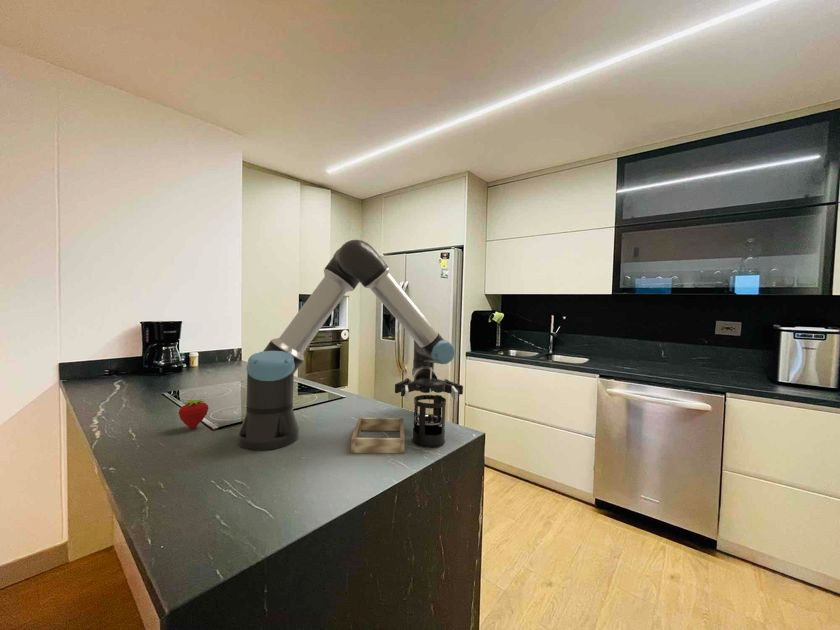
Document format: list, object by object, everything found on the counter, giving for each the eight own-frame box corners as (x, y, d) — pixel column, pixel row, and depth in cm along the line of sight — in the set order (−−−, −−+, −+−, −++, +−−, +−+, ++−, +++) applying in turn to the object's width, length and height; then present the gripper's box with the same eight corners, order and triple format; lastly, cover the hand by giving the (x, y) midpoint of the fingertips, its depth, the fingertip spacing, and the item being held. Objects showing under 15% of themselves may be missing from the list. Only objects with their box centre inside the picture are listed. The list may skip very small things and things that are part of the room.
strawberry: (212, 427, 99) (213, 393, 99) (184, 435, 93) (185, 399, 93) (201, 423, 102) (202, 390, 102) (173, 430, 96) (174, 395, 95)
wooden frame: (350, 452, 85) (351, 439, 85) (358, 429, 102) (358, 417, 102) (404, 453, 86) (404, 439, 86) (402, 429, 103) (403, 418, 103)
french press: (435, 452, 88) (438, 364, 87) (404, 444, 92) (407, 360, 92) (452, 437, 98) (455, 359, 98) (423, 430, 103) (426, 355, 102)
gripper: (461, 391, 114) (476, 410, 93) (387, 389, 112) (385, 409, 91) (462, 369, 114) (477, 383, 92) (388, 367, 112) (386, 381, 91)
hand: (431, 396), depth 92 cm, fingers open, 13 cm apart
